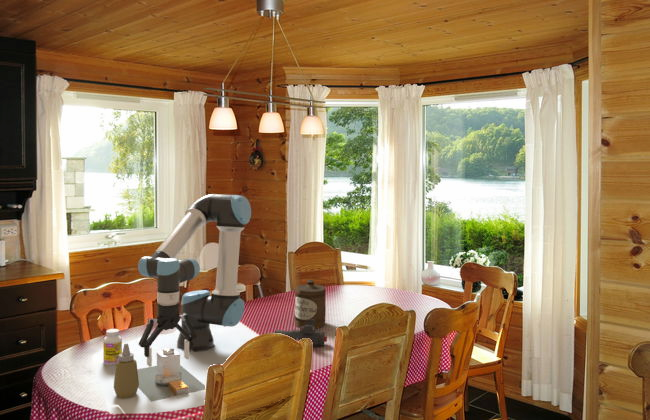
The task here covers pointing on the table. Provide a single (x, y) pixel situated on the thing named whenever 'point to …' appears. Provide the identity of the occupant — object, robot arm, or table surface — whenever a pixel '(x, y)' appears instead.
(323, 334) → the laser sight
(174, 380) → the grey copper fixture base
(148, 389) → the mat
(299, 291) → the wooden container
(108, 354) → the supplement bottle
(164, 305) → the robot arm
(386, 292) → the table surface
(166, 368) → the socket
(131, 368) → the squeeze bottle
